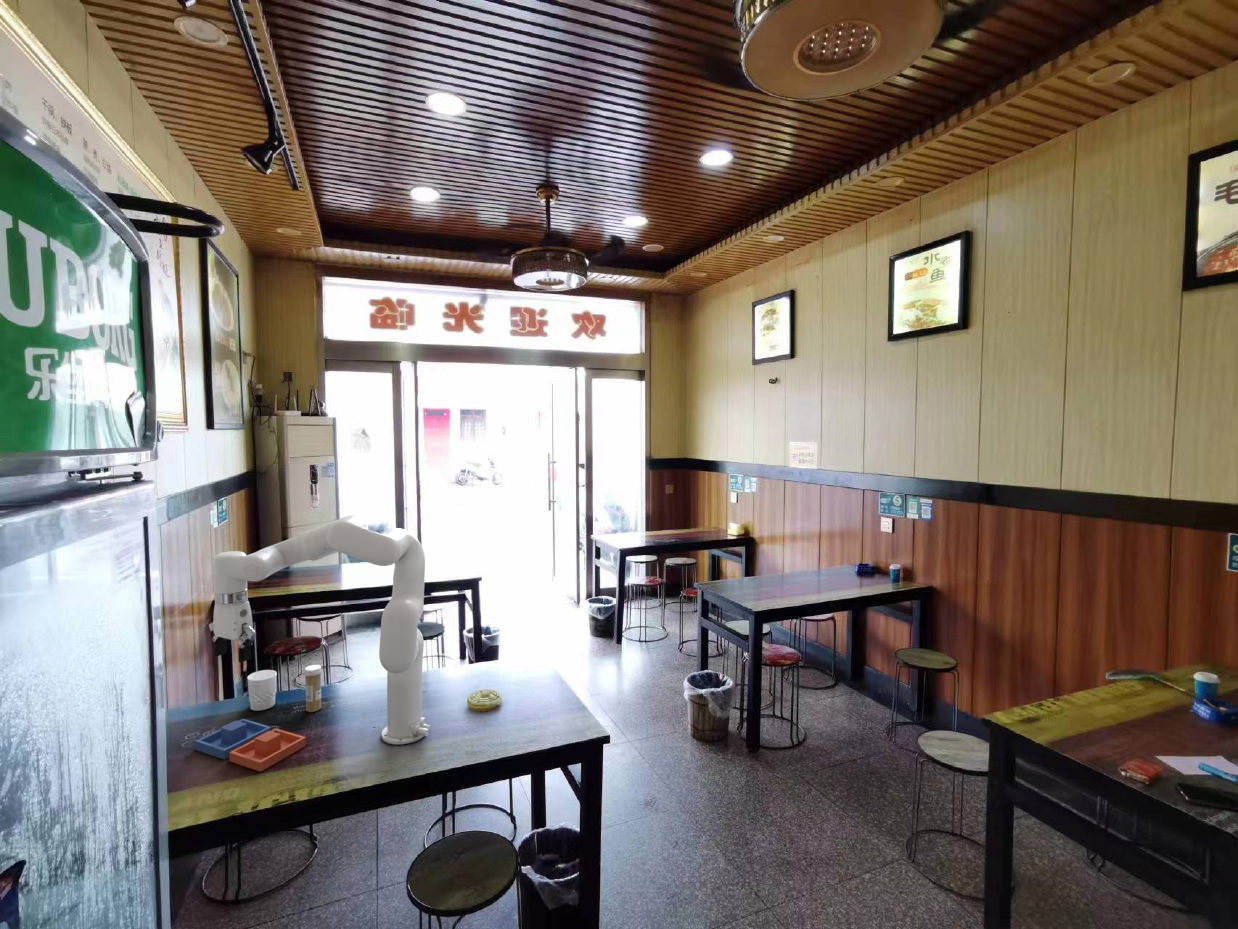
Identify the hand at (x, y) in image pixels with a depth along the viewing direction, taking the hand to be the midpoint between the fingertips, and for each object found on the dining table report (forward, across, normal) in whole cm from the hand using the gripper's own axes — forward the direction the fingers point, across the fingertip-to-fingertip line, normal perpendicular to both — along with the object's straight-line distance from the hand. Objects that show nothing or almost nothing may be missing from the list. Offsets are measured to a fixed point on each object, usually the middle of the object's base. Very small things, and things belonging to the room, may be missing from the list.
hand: (232, 657), depth 164 cm
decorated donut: (+24, -50, -47) cm, 73 cm away
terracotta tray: (+24, -14, 0) cm, 28 cm away
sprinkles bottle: (+24, -4, -23) cm, 34 cm away
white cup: (+24, +12, -18) cm, 33 cm away
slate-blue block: (+24, 0, 0) cm, 24 cm away
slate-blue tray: (+24, 0, 0) cm, 24 cm away
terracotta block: (+24, -13, 0) cm, 27 cm away
